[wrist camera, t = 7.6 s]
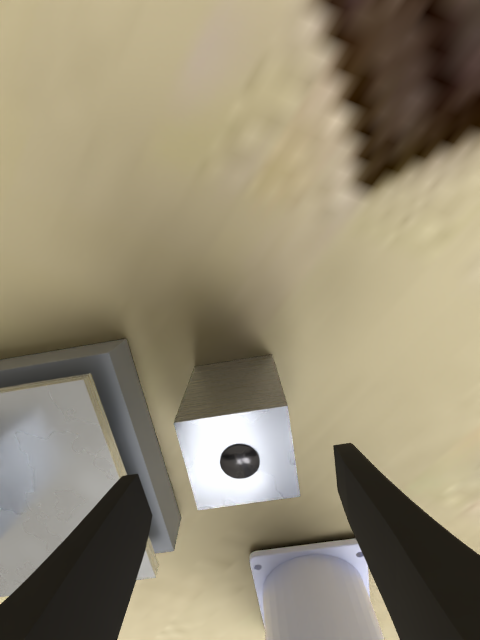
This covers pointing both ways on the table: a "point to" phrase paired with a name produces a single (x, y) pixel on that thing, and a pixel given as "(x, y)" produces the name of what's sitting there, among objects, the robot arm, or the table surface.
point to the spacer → (237, 434)
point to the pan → (52, 471)
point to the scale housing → (113, 419)
